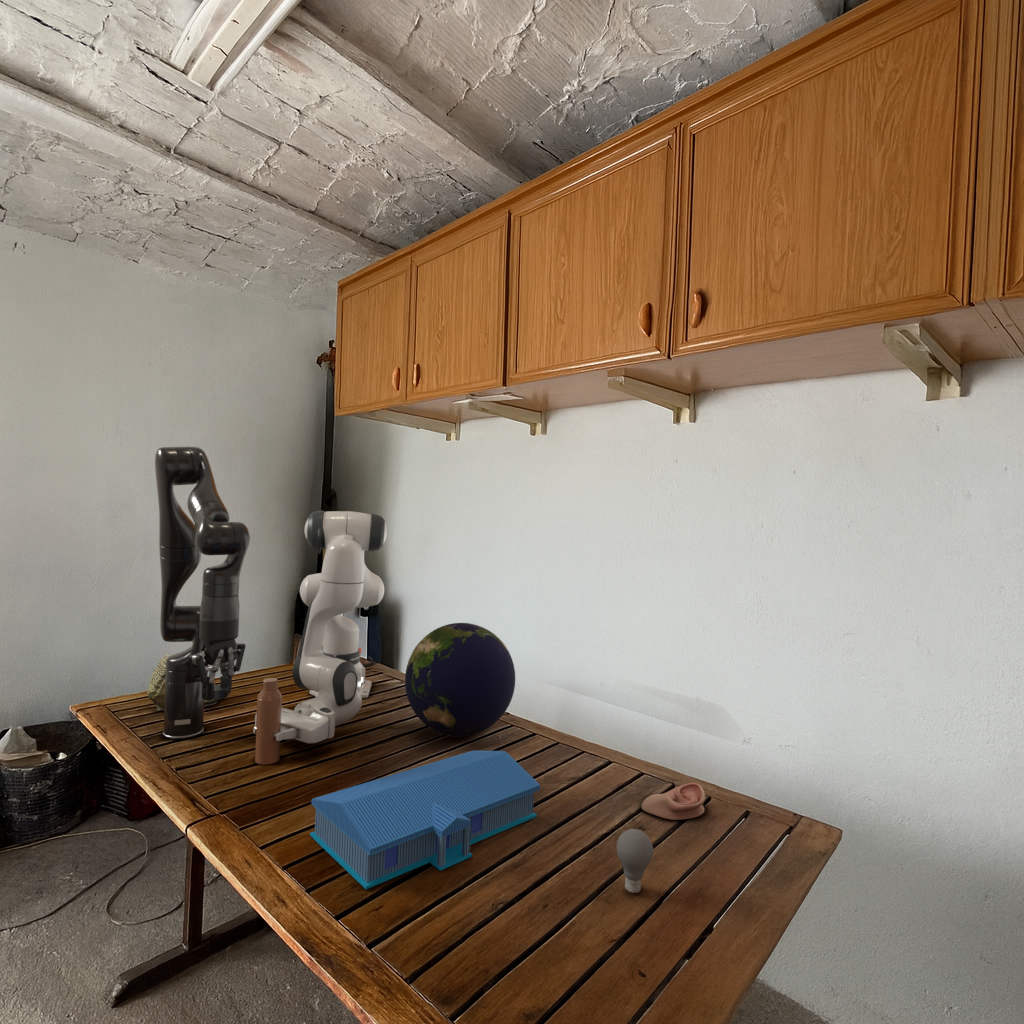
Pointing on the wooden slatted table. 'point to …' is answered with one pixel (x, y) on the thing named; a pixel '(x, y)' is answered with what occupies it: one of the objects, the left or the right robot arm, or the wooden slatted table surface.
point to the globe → (460, 679)
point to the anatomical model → (677, 802)
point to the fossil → (163, 686)
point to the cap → (220, 691)
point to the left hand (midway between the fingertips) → (216, 696)
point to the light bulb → (634, 857)
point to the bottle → (268, 723)
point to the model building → (423, 815)
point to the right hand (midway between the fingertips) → (265, 734)
